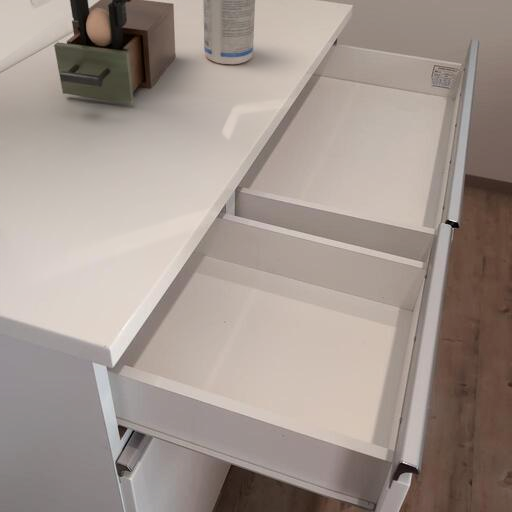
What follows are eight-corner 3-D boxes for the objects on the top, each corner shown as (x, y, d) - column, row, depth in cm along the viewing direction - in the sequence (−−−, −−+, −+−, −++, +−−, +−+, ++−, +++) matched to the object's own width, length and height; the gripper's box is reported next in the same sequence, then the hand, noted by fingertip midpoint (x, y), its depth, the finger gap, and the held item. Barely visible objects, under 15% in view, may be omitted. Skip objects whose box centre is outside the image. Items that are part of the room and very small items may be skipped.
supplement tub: (259, 53, 109) (265, -27, 100) (240, 70, 102) (244, -15, 93) (216, 44, 112) (217, -35, 102) (194, 59, 105) (193, -24, 95)
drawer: (120, 117, 84) (114, 66, 79) (48, 106, 85) (38, 56, 80) (157, 70, 98) (154, 25, 92) (95, 62, 99) (89, 17, 94)
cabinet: (151, 88, 94) (147, 30, 88) (80, 78, 95) (71, 20, 89) (175, 57, 105) (173, 3, 99) (112, 48, 106) (106, -5, 100)
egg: (121, 48, 87) (117, 11, 83) (94, 52, 85) (89, 14, 81) (111, 38, 90) (107, 2, 86) (84, 42, 88) (79, 5, 84)
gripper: (3, -138, 70) (39, 45, 85) (135, -125, 68) (148, 59, 83) (31, -144, 75) (61, 29, 91) (154, -132, 74) (162, 42, 89)
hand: (102, 43), depth 87 cm, fingers closed on egg, 4 cm apart
